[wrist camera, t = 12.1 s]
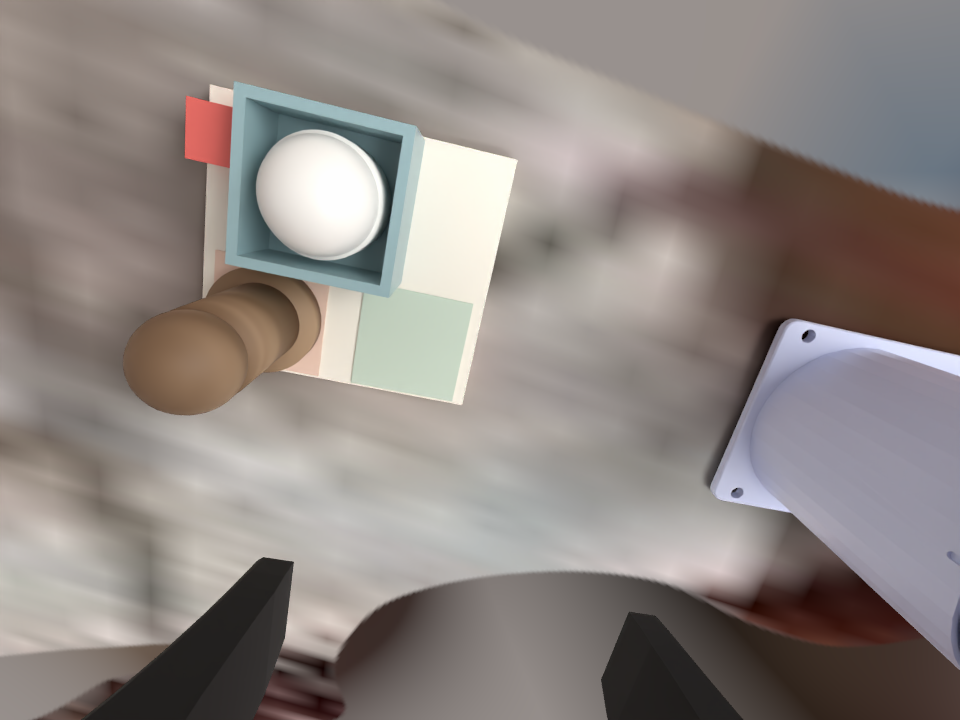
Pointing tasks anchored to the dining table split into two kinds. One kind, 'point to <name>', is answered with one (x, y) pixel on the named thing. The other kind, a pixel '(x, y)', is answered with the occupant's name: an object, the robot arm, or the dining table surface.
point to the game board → (426, 276)
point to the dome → (322, 195)
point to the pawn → (221, 341)
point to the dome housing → (387, 141)
